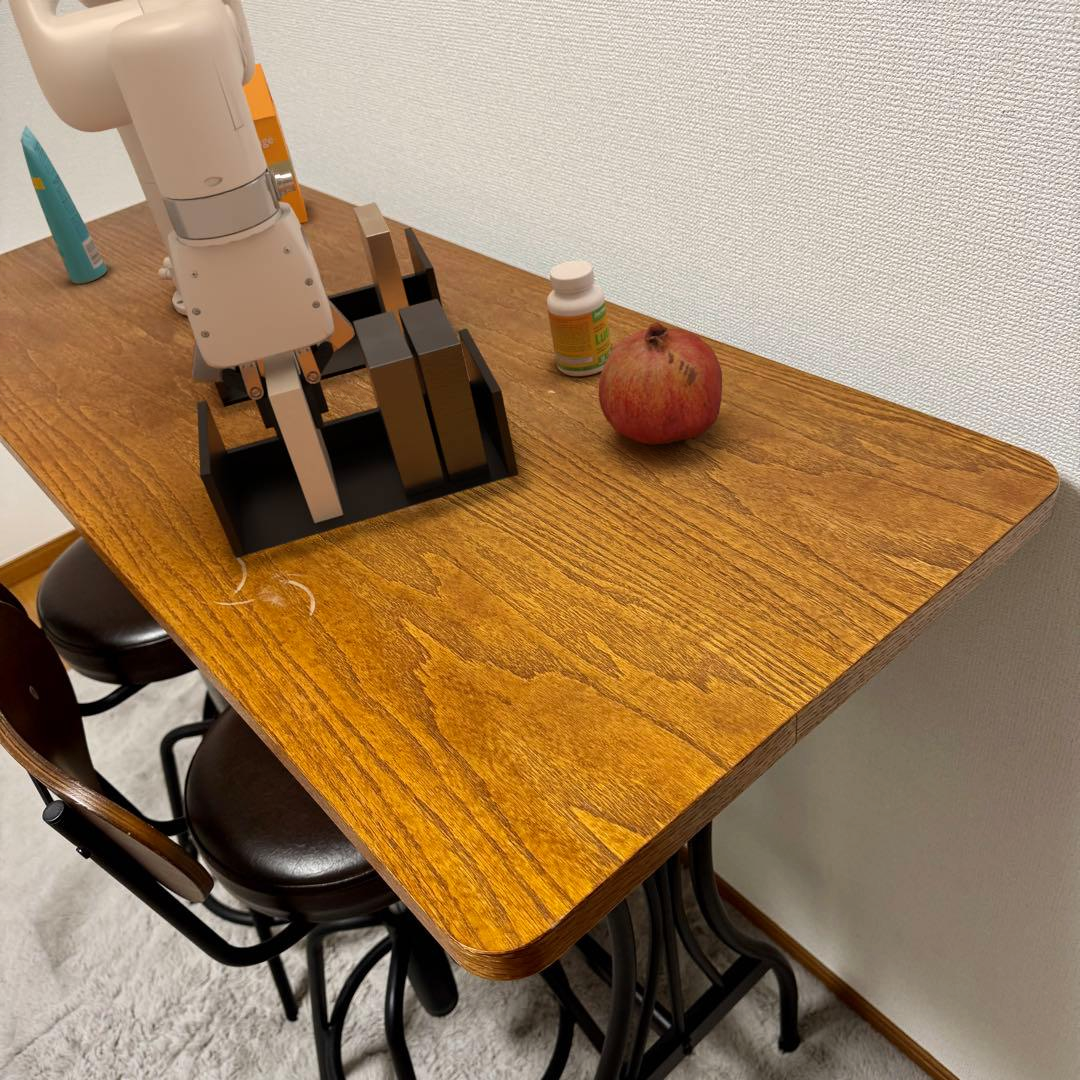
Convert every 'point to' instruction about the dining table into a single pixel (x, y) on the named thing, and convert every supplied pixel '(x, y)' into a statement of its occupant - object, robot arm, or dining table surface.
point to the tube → (62, 215)
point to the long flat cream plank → (302, 436)
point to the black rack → (373, 438)
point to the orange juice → (272, 137)
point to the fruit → (661, 386)
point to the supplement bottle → (578, 319)
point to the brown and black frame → (369, 294)
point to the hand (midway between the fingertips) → (299, 424)
